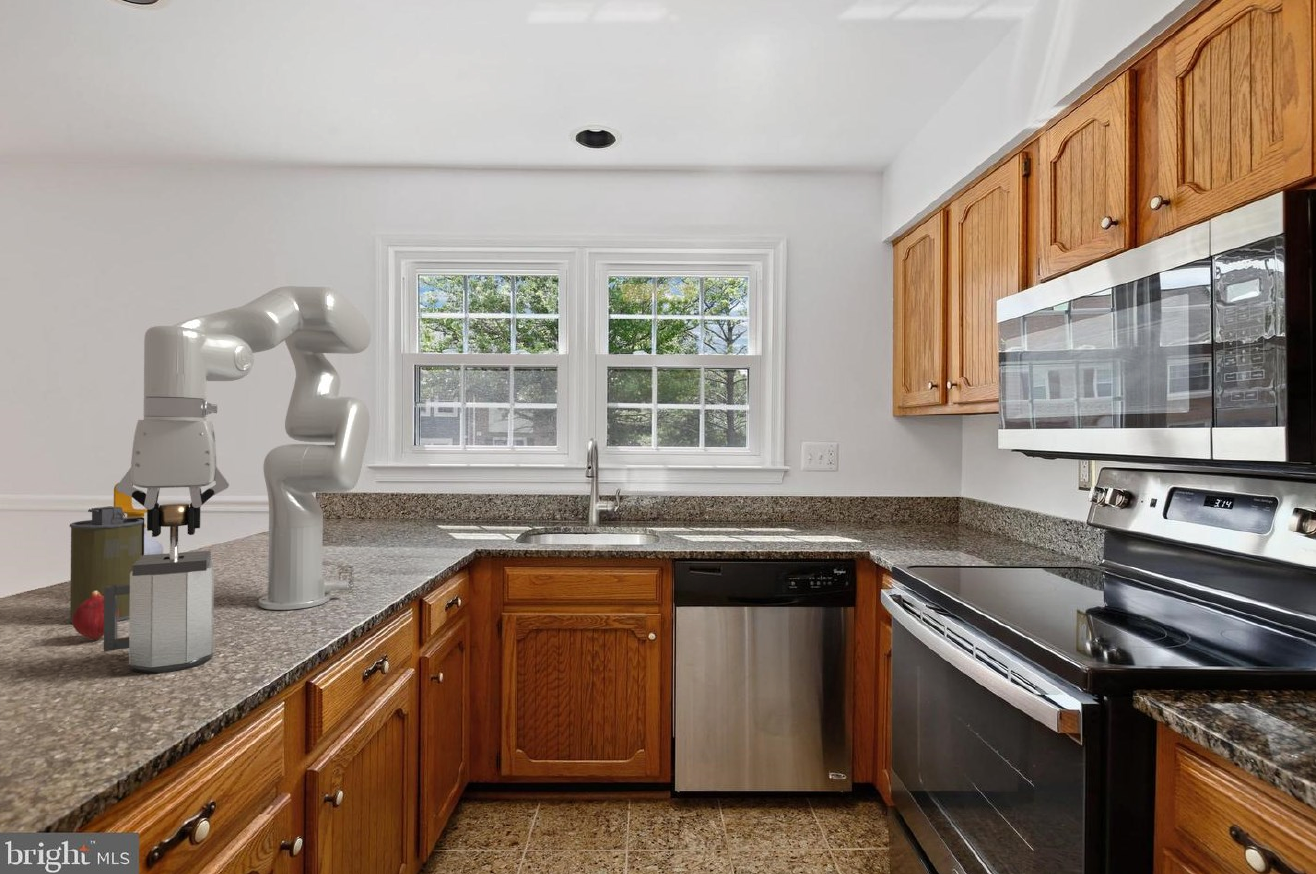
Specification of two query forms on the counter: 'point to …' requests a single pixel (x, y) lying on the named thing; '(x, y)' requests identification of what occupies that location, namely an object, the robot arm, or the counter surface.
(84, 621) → the onion
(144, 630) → the french press
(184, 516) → the plunger
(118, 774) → the counter surface
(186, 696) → the counter surface
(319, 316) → the robot arm
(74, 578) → the canister
